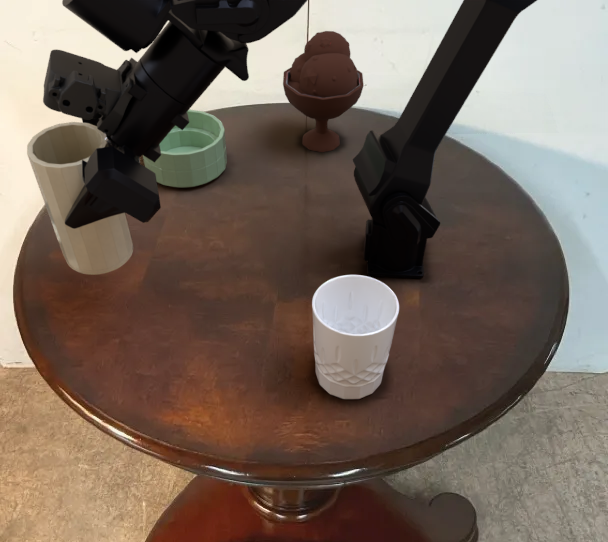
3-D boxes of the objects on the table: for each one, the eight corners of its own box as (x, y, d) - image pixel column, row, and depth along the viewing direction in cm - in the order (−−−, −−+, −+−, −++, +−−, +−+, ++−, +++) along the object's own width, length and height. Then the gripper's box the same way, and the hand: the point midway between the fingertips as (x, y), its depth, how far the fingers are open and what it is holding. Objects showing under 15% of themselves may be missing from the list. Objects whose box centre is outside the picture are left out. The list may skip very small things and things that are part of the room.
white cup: (382, 411, 67) (393, 341, 60) (303, 397, 68) (304, 327, 61) (392, 351, 72) (403, 280, 65) (318, 339, 73) (320, 268, 66)
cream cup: (141, 232, 74) (117, 125, 64) (121, 278, 70) (91, 170, 60) (79, 226, 75) (44, 119, 65) (54, 271, 70) (14, 163, 60)
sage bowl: (232, 146, 98) (229, 111, 94) (220, 193, 90) (216, 156, 86) (155, 143, 98) (149, 107, 94) (137, 189, 91) (130, 152, 87)
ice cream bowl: (273, 128, 101) (271, 24, 90) (345, 117, 104) (351, 14, 93) (294, 167, 95) (294, 61, 84) (370, 154, 97) (380, 49, 86)
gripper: (83, -23, 61) (-6, 106, 68) (88, 76, 49) (-22, 221, 56) (183, 55, 68) (94, 165, 75) (209, 158, 56) (99, 279, 63)
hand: (68, 202), depth 67 cm, fingers closed on cream cup, 7 cm apart
